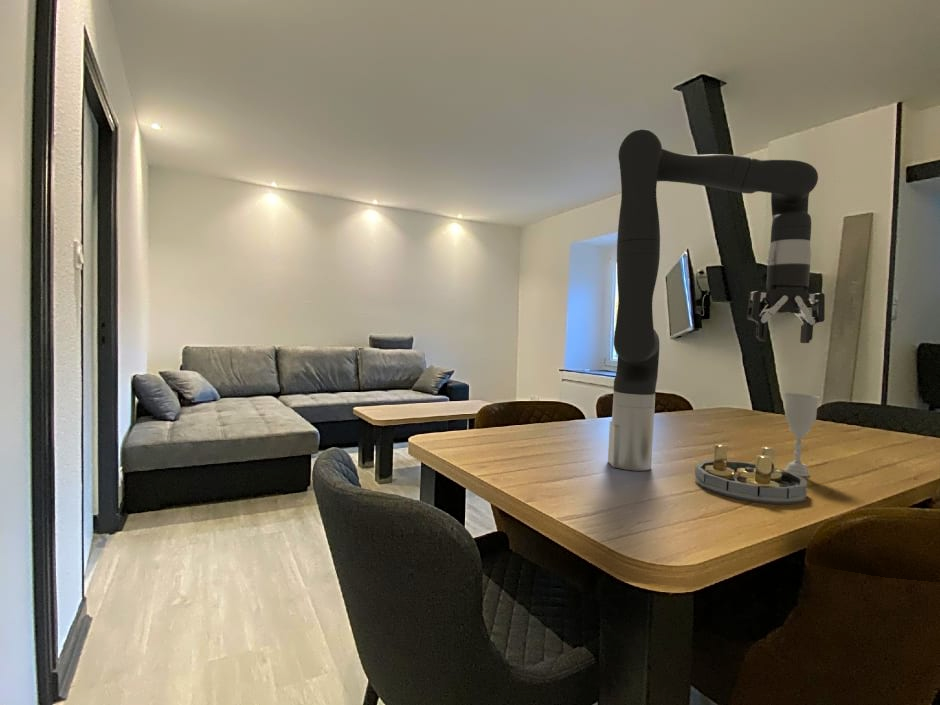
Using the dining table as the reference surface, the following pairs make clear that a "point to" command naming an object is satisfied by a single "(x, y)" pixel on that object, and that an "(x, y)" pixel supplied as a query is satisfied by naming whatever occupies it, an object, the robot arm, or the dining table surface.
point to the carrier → (733, 475)
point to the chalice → (800, 425)
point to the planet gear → (762, 472)
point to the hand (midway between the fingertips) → (783, 342)
